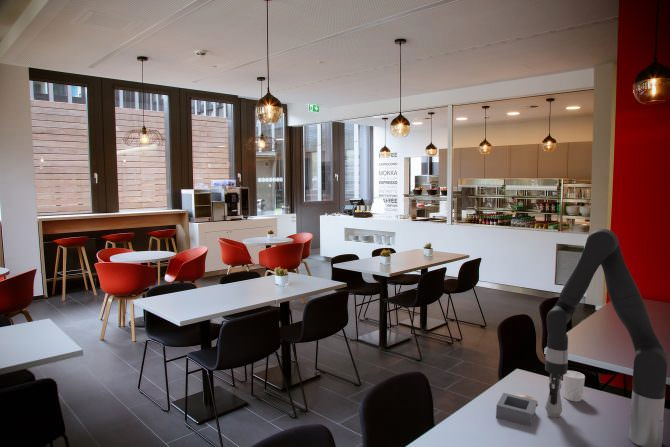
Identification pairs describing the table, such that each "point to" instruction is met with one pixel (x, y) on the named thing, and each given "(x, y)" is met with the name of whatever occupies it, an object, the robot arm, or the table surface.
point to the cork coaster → (527, 397)
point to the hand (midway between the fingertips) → (554, 403)
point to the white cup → (573, 385)
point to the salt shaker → (554, 406)
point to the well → (516, 409)
